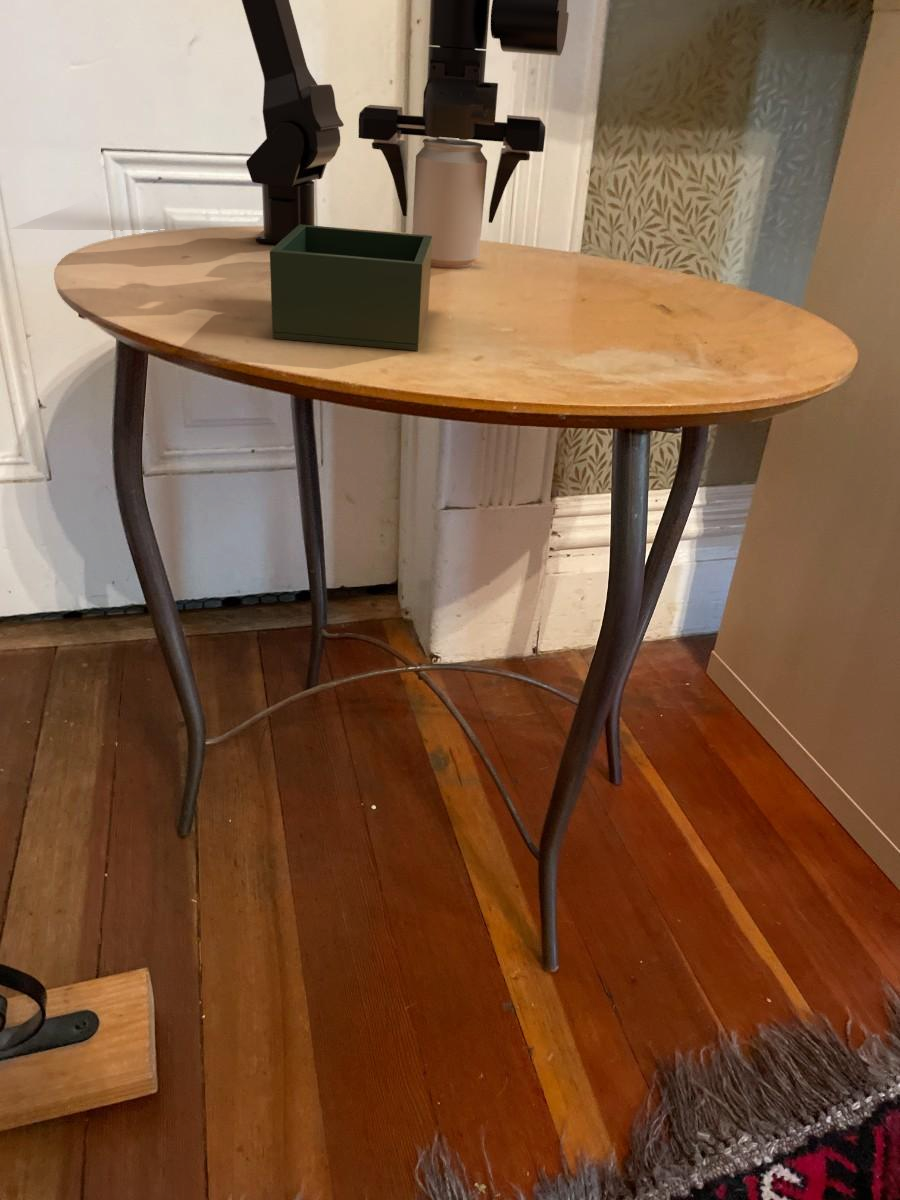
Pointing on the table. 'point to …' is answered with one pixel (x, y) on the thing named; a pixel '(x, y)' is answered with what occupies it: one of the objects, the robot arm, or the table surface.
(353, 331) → the bin
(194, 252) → the table surface
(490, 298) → the table surface
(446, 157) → the can
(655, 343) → the table surface
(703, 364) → the table surface
